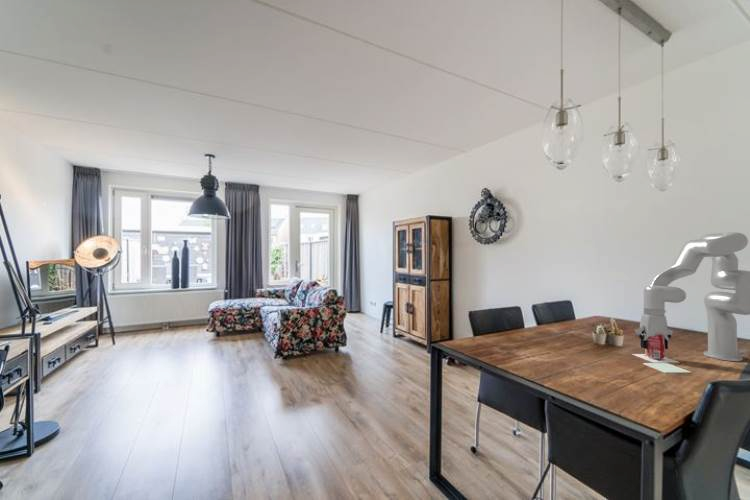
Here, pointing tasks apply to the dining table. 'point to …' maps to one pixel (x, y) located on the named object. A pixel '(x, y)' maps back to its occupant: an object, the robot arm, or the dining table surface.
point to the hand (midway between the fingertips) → (654, 348)
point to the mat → (666, 368)
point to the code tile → (664, 360)
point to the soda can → (656, 347)
